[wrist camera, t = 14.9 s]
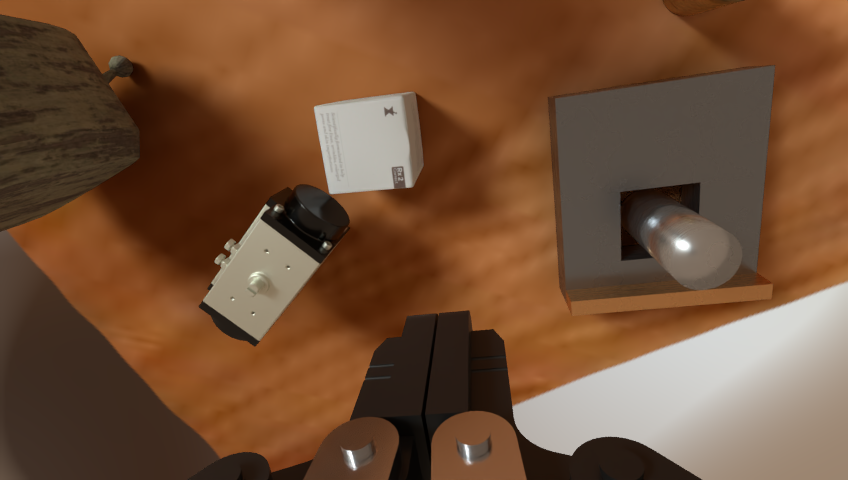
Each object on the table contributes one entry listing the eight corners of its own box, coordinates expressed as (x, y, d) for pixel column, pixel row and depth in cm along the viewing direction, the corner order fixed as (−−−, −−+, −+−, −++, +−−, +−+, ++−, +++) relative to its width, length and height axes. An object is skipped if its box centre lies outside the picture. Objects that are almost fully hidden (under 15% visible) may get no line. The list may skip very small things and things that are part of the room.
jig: (548, 97, 34) (560, 99, 29) (748, 66, 32) (796, 64, 27) (559, 287, 39) (571, 315, 34) (733, 271, 37) (771, 298, 32)
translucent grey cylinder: (618, 192, 36) (671, 232, 26) (671, 185, 35) (744, 224, 26) (619, 238, 37) (670, 293, 28) (670, 232, 37) (740, 286, 27)
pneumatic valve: (374, 198, 38) (333, 247, 27) (300, 292, 42) (237, 369, 30) (321, 156, 37) (256, 189, 26) (251, 255, 41) (167, 321, 30)
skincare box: (341, 100, 36) (310, 104, 29) (416, 91, 35) (403, 93, 28) (354, 175, 38) (327, 196, 31) (425, 168, 37) (415, 188, 30)
